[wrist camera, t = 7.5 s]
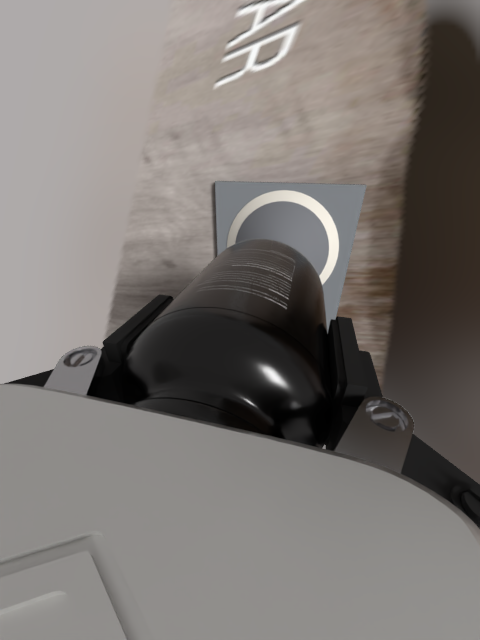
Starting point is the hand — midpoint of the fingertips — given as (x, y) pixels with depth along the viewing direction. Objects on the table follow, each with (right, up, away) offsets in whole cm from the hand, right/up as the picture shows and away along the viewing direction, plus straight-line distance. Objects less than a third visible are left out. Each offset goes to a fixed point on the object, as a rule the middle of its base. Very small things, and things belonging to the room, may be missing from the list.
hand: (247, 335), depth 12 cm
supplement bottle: (+1, +2, +4) cm, 4 cm away
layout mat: (+3, +5, +14) cm, 15 cm away
